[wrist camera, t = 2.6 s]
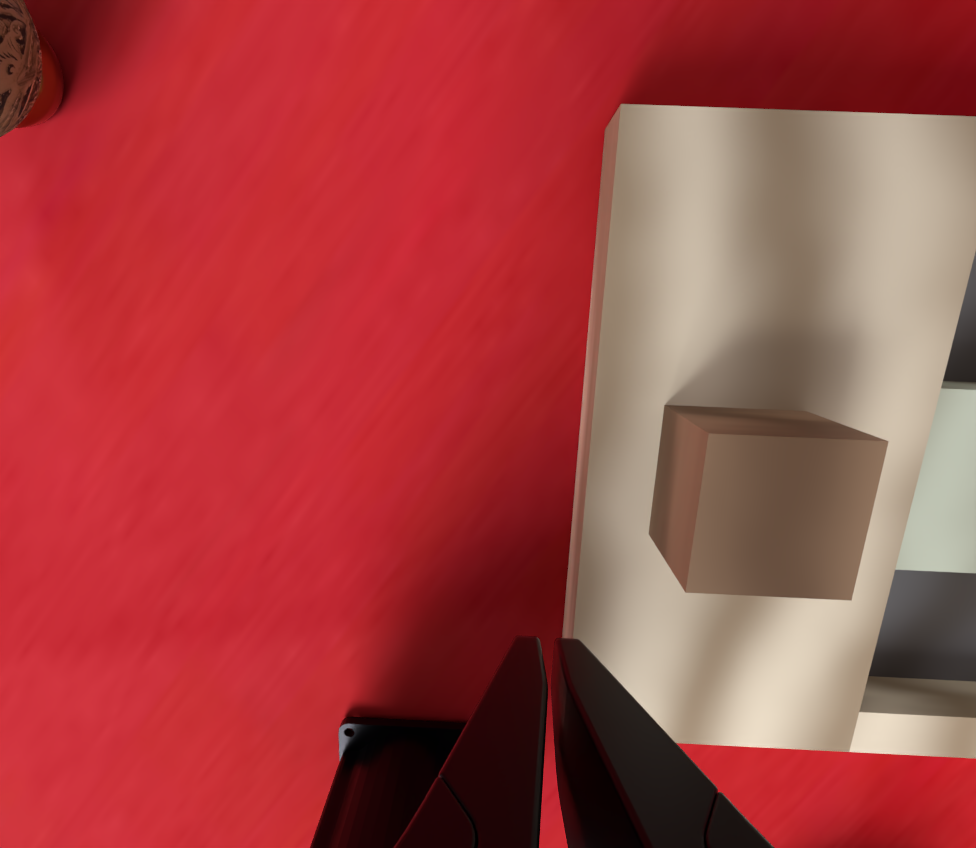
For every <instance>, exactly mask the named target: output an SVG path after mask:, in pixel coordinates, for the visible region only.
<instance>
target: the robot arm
mask: <svg viewBox="0 0 976 848" xmlns="http://www.w3.org/2000/svg"><path fill="white" fill-rule="evenodd" d="M547 700H548V685H547V678H546V672H545V666H544V661H543V655H542V649H541V644H540V640H539V638H537V637H534V636H516V637H515V638H514V639H513V641H512V643H511V645H510V647H509V648H508V650H507V652H506V654H505V656H504V657H503V659H502V661H501V663H500V665H499V666H498V668H497V670H496V672H495V674H494V675H493V677H492V679H491V681H490V683H489V684H488V686H487V688H486V690H485V692H484V693H483V695H482V697H481V699H480V701H479V702H478V704H477V706H476V708H475V710H474V711H473V713H472V715H471V717H470V718H469V720H468V722H467V723H459V722H439V721H420V720H400V719H381V718H361V717H347V718H345V719H344V720H343V721H342V723H341V726H340V728H339V756H340V763H339V766H338V768H337V771H336V774H335V777H334V780H333V783H332V786H331V789H330V792H329V794H328V797H327V800H326V803H325V806H324V809H323V812H322V815H321V818H320V820H319V823H318V826H317V829H316V832H315V835H314V838H313V841H312V844H311V847H310V848H539V836H540V819H541V802H542V785H543V768H544V751H545V734H546V717H547ZM551 700H552V715H553V729H554V744H555V759H556V773H557V783H558V791H559V798H560V805H561V811H562V816H563V822H564V827H565V833H566V839H567V844H568V848H774V847H773V846H772V845H771V844H770V843H769V842H768V841H767V840H766V839H765V837H764V836H763V835H762V834H761V833H760V832H759V831H758V830H757V829H756V828H755V827H754V826H753V825H752V824H751V823H750V822H749V821H748V820H747V819H746V818H745V817H744V816H743V815H742V814H741V813H740V812H739V810H738V809H737V808H736V807H735V806H734V805H733V804H732V803H731V802H730V801H729V800H728V799H727V797H726V796H725V795H724V794H723V793H721V792H718V789H717V787H716V786H715V785H714V784H713V783H712V782H711V781H710V779H709V778H708V777H707V776H706V775H705V774H704V773H703V772H702V771H701V770H700V769H699V768H698V766H697V765H696V764H695V763H694V762H693V761H692V760H691V759H690V758H689V757H688V756H687V755H686V754H685V752H684V751H683V750H682V749H681V748H680V747H679V746H678V745H677V744H676V743H675V742H674V741H673V739H672V738H671V737H670V736H669V735H668V734H667V733H666V732H665V731H664V730H663V729H662V728H661V727H660V725H659V724H658V723H657V722H656V721H655V720H654V719H653V718H652V717H651V716H650V715H649V714H648V712H647V711H646V710H645V709H644V708H643V707H642V706H641V705H640V704H639V703H638V702H637V701H636V700H635V698H634V697H633V696H632V695H631V694H630V693H629V692H628V691H627V690H626V689H625V688H624V687H623V685H622V684H621V683H620V682H619V681H618V680H617V679H616V678H615V677H614V676H613V675H612V674H611V673H610V671H609V670H608V669H607V668H606V667H605V666H604V665H603V664H602V663H601V662H600V661H599V660H598V658H597V657H596V656H595V655H594V654H593V653H592V652H591V651H590V650H589V649H588V648H587V647H586V646H585V644H584V643H583V642H582V641H581V640H579V639H575V638H557V639H556V640H555V642H554V650H553V663H552V675H551ZM348 728H351V729H353V730H349V729H348Z"/></svg>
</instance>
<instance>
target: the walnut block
mask: <svg viewBox="0 0 976 848" xmlns="http://www.w3.org/2000/svg"><path fill="white" fill-rule="evenodd" d="M888 442H889V441H886V440H884V439H881V438H878V437H875V436H873V435H870V434H867V433H865V432H862V431H859V430H856V429H854V428H851V427H848V426H845V425H843V424H840V423H837V422H835V421H832V420H829V419H826V418H824V417H821V416H818V415H816V414H813V413H810V412H807V411H796V410H772V409H749V408H726V407H702V406H679V405H664V412H663V420H662V428H661V437H660V445H659V453H658V461H657V469H656V477H655V485H654V493H653V501H652V509H651V517H650V526H649V536H650V537H651V539H652V540H653V542H654V544H655V545H656V547H657V548H658V550H659V551H660V553H661V555H662V556H663V558H664V559H665V561H666V563H667V564H668V566H669V567H670V569H671V570H672V572H673V574H674V575H675V577H676V578H677V580H678V582H679V583H680V585H681V586H682V588H683V590H684V591H685V593H703V594H724V595H745V596H766V597H787V598H808V599H830V600H851V601H852V596H853V592H854V588H855V584H856V579H857V575H858V571H859V566H860V562H861V558H862V554H863V549H864V545H865V541H866V536H867V532H868V528H869V524H870V519H871V515H872V511H873V507H874V502H875V498H876V494H877V489H878V485H879V481H880V477H881V472H882V468H883V464H884V460H885V455H886V451H887V447H888Z"/></svg>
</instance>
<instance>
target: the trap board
mask: <svg viewBox="0 0 976 848" xmlns="http://www.w3.org/2000/svg"><path fill="white" fill-rule="evenodd" d="M664 405H679V406H702V407H726V408H749V409H772V410H796V411H807V412H810V413H813V414H816V415H818V416H821V417H824V418H826V419H829V420H832V421H835V422H837V423H840V424H843V425H845V426H848V427H851V428H854V429H856V430H859V431H862V432H865V433H867V434H870V435H873V436H875V437H878V438H881V439H884V440H886V441H889V442H888V447H887V451H886V455H885V460H884V464H883V468H882V472H881V477H880V481H879V485H878V489H877V494H876V498H875V502H874V507H873V511H872V515H871V519H870V524H869V528H868V532H867V536H866V541H865V545H864V549H863V554H862V558H861V562H860V566H859V571H858V575H857V579H856V584H855V588H854V592H853V596H852V601H851V600H830V599H808V598H787V597H766V596H745V595H724V594H703V593H685V591H684V590H683V588H682V586H681V585H680V583H679V582H678V580H677V578H676V577H675V575H674V574H673V572H672V570H671V569H670V567H669V566H668V564H667V563H666V561H665V559H664V558H663V556H662V555H661V553H660V551H659V550H658V548H657V547H656V545H655V544H654V542H653V540H652V539H651V537H650V536H649V526H650V517H651V509H652V501H653V493H654V485H655V477H656V469H657V461H658V453H659V445H660V437H661V428H662V420H663V412H664ZM562 638H575V639H579V640H581V641H582V642H583V643H584V644H585V646H586V647H587V648H588V649H589V650H590V651H591V652H592V653H593V654H594V655H595V656H596V657H597V658H598V660H599V661H600V662H601V663H602V664H603V665H604V666H605V667H606V668H607V669H608V670H609V671H610V673H611V674H612V675H613V676H614V677H615V678H616V679H617V680H618V681H619V682H620V683H621V684H622V685H623V687H624V688H625V689H626V690H627V691H628V692H629V693H630V694H631V695H632V696H633V697H634V698H635V700H636V701H637V702H638V703H639V704H640V705H641V706H642V707H643V708H644V709H645V710H646V711H647V712H648V714H649V715H650V716H651V717H652V718H653V719H654V720H655V721H656V722H657V723H658V724H659V725H660V727H661V728H662V729H663V730H664V731H665V732H666V733H667V734H668V735H669V736H670V737H671V738H672V739H673V741H674V742H675V743H686V744H706V745H725V746H745V747H764V748H784V749H803V750H823V751H842V752H862V753H881V754H901V755H920V756H940V757H959V758H976V116H950V115H921V114H893V113H865V112H836V111H808V110H780V109H751V108H723V107H695V106H666V105H638V104H621V105H620V106H619V108H618V109H617V111H616V113H615V114H614V116H613V118H612V119H611V121H610V122H609V124H608V126H607V127H606V129H605V136H604V148H603V160H602V172H601V183H600V195H599V207H598V219H597V231H596V243H595V255H594V266H593V278H592V290H591V302H590V314H589V326H588V337H587V349H586V361H585V373H584V385H583V397H582V409H581V420H580V432H579V444H578V456H577V468H576V480H575V491H574V503H573V515H572V527H571V539H570V551H569V563H568V574H567V586H566V598H565V610H564V622H563V634H562Z"/></svg>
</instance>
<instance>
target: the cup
mask: <svg viewBox="0 0 976 848" xmlns="http://www.w3.org/2000/svg"><path fill="white" fill-rule="evenodd" d="M63 90H64V80H63V73H62V69H61V66H60V63H59V60H58V58H57V56H56V54H55V52H54V50H53V49H52V47H51V46H50V44H49V43H48V42H47V40H46V39H45V38H44V36H43V35H42V34H41V33H40V32H39V30H38V29H37V28H36V27H35V25H34V23H33V20H32V17H31V15H30V13H29V11H28V9H27V7H26V5H25V3H24V1H23V0H0V137H1V136H3V135H5V134H6V133H8V132H10V131H11V130H13V129H14V128H25V127H31V126H35V125H39V124H41V123H43V122H45V121H47V120H48V119H49V118H50V117H52V116H53V115H54V113H55V112H56V111H57V109H58V107H59V105H60V103H61V100H62V97H63Z"/></svg>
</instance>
